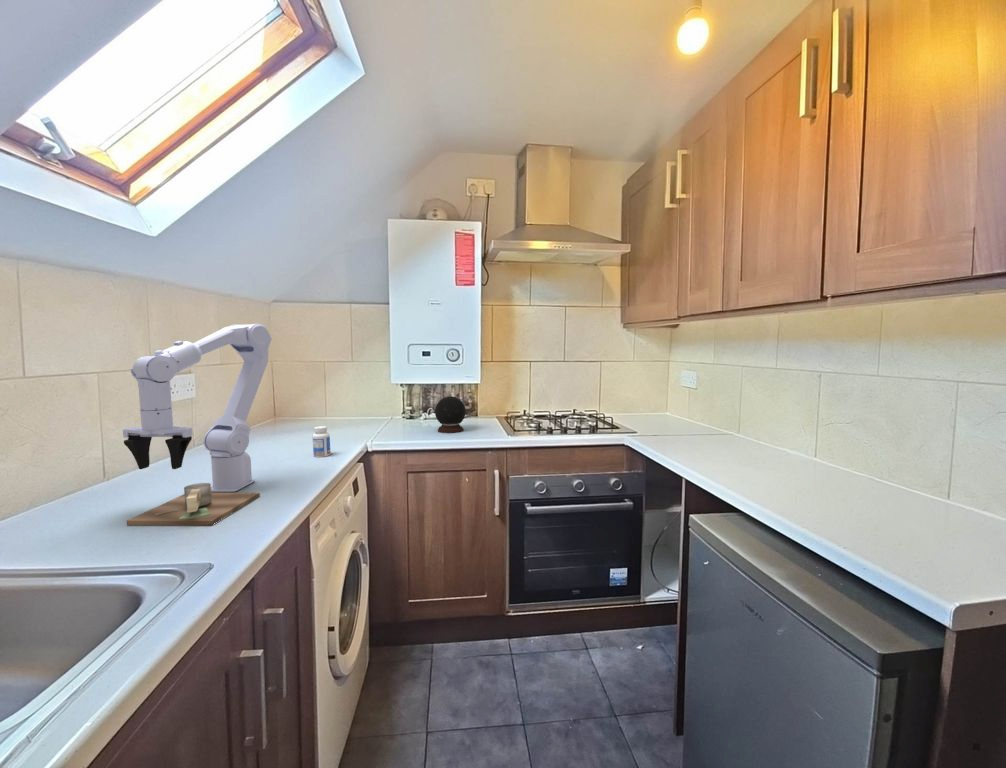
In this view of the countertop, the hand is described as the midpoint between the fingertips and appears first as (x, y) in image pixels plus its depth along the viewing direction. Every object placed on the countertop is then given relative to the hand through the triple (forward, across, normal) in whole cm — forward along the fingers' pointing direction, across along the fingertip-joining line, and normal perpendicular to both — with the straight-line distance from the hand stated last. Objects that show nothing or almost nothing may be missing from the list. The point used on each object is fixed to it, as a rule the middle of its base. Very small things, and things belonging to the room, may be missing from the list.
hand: (160, 468), depth 104 cm
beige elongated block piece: (+8, +11, -4) cm, 14 cm away
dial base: (+9, +9, -1) cm, 13 cm away
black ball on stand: (+10, +54, +94) cm, 109 cm away
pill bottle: (+10, +16, +50) cm, 53 cm away
